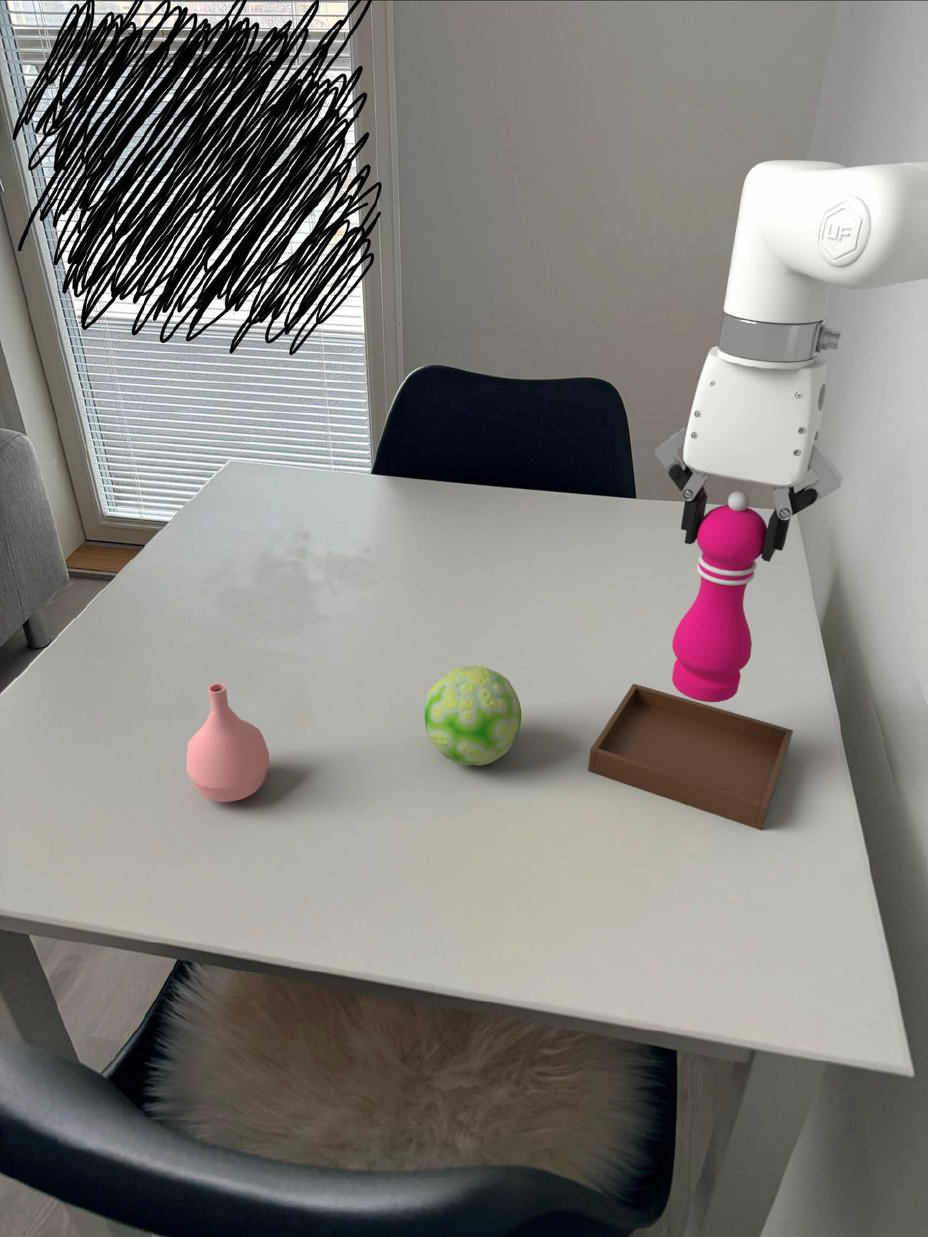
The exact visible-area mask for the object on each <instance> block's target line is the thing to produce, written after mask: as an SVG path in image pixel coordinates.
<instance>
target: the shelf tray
mask: <svg viewBox="0 0 928 1237" xmlns="http://www.w3.org/2000/svg"><path fill="white" fill-rule="evenodd" d="M793 732H794V730H793V729H791V728H787V727H784V726H780V725H777V724H773V723H770V722H767V721H762V720H760V719H758V718H757V719H756V718H753V717H749V716H746V715H742V714H740V713H736V712H732V711H729V710H725V709H722V708H718V707H715V706H711V705H709V704H706V703H701V702H698V701H696V700H695V701H694V700H692V699H688V698H684V697H681V696H677V695H675V694H671V693H667V692H664V691H660V690H657V689H654V688H650V687H647V686H643V685H641V684H636V683H632V684H631V686H630V688H629V689H628V691H627V692H626V694H625V695H624V698H623V699H622V700H621V702H620V703H619V705H618V707H617V708H616V710H615V711H614V713H613V714H612V716H611V717H610V719H609V720H608V722H607V723H606V725H605V726H604V728H603V730H602V731H601V733H600V734H599V736H598V737H597V739H596V740H595V742H594V743H593V745H592V746H591V748H590V750H589V759H588V760H589V761H588V768H587V772H589V773H593V774H595V775H599V776H602V777H604V778H608V779H610V780H613V781H616V782H619V783H622V784H625V785H628V786H631V787H634V788H637V789H639V790H642V791H646V792H649V793H651V794H654V795H657V796H659V797H664V798H666V799H669V800H671V801H675V802H678V803H680V804H684V805H687V806H689V807H692V808H695V809H697V810H702V811H704V812H707V813H710V814H713V815H716V816H719V817H722V818H724V819H727V820H731V821H733V822H736V823H740V824H742V825H745V826H748V827H751V828H754V829H757V830H760V831H761V830H762V829H763V827H764V823H765V820H766V817H767V815H768V811H769V808H770V805H771V802H772V800H773V796H774V793H775V791H776V787H777V784H778V781H779V778H780V776H781V773H782V769H783V767H784V763H785V761H786V757H787V755H788V752H789V747H790V745H791V741H792V736H793V734H794V733H793Z"/></svg>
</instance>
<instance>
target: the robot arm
mask: <svg viewBox="0 0 928 1237" xmlns="http://www.w3.org/2000/svg"><path fill="white" fill-rule="evenodd" d="M728 272H729V273H728V278H727V284H726V292H725V297H724V305H723V311H722V318H721V322H720V323H721V324H720V329H719V336H718V342H717V345H716V346H713V347H710V349H709V351H708V353H707V356H706V359H705V361H704V364H703V367H702V370H701V373H700V375H699V376H700V377H699V380H698V382H697V386H696V390H695V394H694V398H693V402H692V406H691V411H690V413H689V417H688V418H689V419H688V423H687V424H686V425H685V426H683V427H681V429H680V430H678V431H677V432H675V433H674V434H672V435H671V436H669V437H668V438H667V439H665V440H664V441H663V442H661V443H660V444H659V445H658V446H657V447H656V448H655V449H654V452H653V453H654V456H655V457H656V459H657V460H658V461H659V463H660V464H661V465H662V467H663V468H664V469H665V470H666V471H667V472H668V476H669V478H670V479H671V480H672V482H673V483H674V485H675V486H676V487H677V488H678V490H679V491H680V492H681V498H682V500H684V503H683V504H684V505H683V511H682V518H681V526H680V529H681V530H682V531H685V538H684V544H685V545H686V544H687V545H692V544H694V543H695V542H697V531H698V527H699V524H700V522H701V520H702V519H703V517H704V516H705V515H706V514H705V513H706V507H707V502H708V494H707V491H705V490H706V489H705V487H704V486H705V485H706V483H707V482H708V480H709V478H710V477H711V476H715V477H720V478H725V479H730V480H735V481H741V482H742V481H743V482H747V483H753V484H758V485H764V486H770V487H771V493H772V497H773V502H774V506H775V508H774V510H773V512H772V513H771V515H770V517H769V520H768V524H767V533H766V537H765V542H764V547H763V552H762V554H761V556H760V558H761V559H763V560H762V561H764V562H768V563H769V562H771V560H772V558H773V556H774V555H775V552H776V551H781V552H782V551H783V550H784V548H785V544H786V540H787V536H788V531H789V527H790V522H791V518H792V517H793V516H795V515H796V514H798V513H800V512H801V511H803V510H805V509H807V508H809V506H812V505H814V504H815V503H816V501H819V500H820V499H822V498H824V497H826V496H828V495H829V494H831V493H834V492H835V491H837V490H838V489H839V488H840V487H841V485H842V483H843V479H844V477H843V475H842V474H841V473H840V471H839V469H838V468H837V467H836V465H835V464H834V463H833V462H832V460H831V458H830V457H829V456H828V454H827V453H826V452H825V450H824V449H823V448H822V446H821V445H820V443H819V442H818V441H819V434H820V428H821V422H822V416H823V410H824V405H825V404H824V403H825V397H826V384H827V383H826V382H827V360H826V359H825V358H823V357H820V356H818V354H820V353H821V352H822V351H828V349H830V350H831V349H832V350H839V348H840V344H841V341H842V335H843V330H833V328H832V327H828V326H829V324H827V323H826V321H827V317H826V315H827V310H828V307H829V306H828V305H829V300H830V296H831V291H832V288H833V286H835V287H838V288H841V289H847V290H854V291H855V290H870V289H877V288H882V287H889V286H894V285H898V284H904V283H909V282H914V281H920V280H921V281H922V280H928V161H916V162H902V163H901V162H900V163H886V164H885V163H884V164H883V163H882V164H869V165H861V166H853V167H846V166H845V165H842V164H840V163H836V162H831V161H822V160H803V159H798V160H797V159H776V160H775V159H774V160H767V161H762V162H760V163H757V164H756V165H754V166H753V167H752V168H751V169H750V170H749V171H748V173H747V174H746V177H745V179H744V182H743V186H742V192H741V196H740V204H739V209H738V214H737V222H736V228H735V235H734V240H733V247H732V254H731V260H730V266H729V271H728ZM682 447H683V450H682V451H683V452H682V459H683V460H682V459H681V456H680V455H679V454H678V450H680V449H681V448H682ZM810 470H812V471H813V472H814V474H815V476H817V478H818V479H817V480H815V481H814V482H813V483H811V484H808V485H806V486H804V487H803V488H801V489H800V490H798V491H797V490H796V487H797V486H799V485H801V484H802V482H803V481H804V479H805V476H806V473H807V472H809V471H810Z"/></svg>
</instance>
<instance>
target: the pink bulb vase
mask: <svg viewBox="0 0 928 1237" xmlns="http://www.w3.org/2000/svg"><path fill="white" fill-rule="evenodd" d="M207 691H208V696H209V703H210V708H211V710H210V711H209V714H208V715H207V719H206V721H205V723H204V724H203V725H202V727H200V728H199V730H197V731H196V732H195V733H194V734H193V736H192V737H191V739H190V740H189V741H188V742H187V743H188V744H187V750H186V769H185V770H186V773H187V775H188V777H189V779H190V781H191V782H192V784H193V785H194V788H196V790H197V792H198V793H199V794H200V795H201V796H202V797H204V798H205V799H207V800H209V801H214V802H219V803H230V802H235V801H240V800H243V799H245V798H247V797H249V796H251V795H253V794H254V793H255V792H257V791H258V790H259V789H260V788H261V787H262V785H263V783H264V782H265V779H266V777H267V772H268V767H269V764H270V751H269V749H268V746H267V743H266V740H265V738H264V735H263V734H262V732H261V730H260V728H258V727H256V726H255V725H253V724H252V723H250V722H248V721H246V720H243V719H242V718H240V717H239V716H238V715H237V714H236V713H235V711H233V710H232V708H231V707H230V706H229V701H228V692H227V687H226V685H225V684H224V683H222V682H221V683H220V682H217V683H212V684H211V685H209V686H208V689H207Z"/></svg>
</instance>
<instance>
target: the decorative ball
mask: <svg viewBox="0 0 928 1237" xmlns="http://www.w3.org/2000/svg"><path fill="white" fill-rule="evenodd" d="M512 685H513V684H511V682H510V681H509V679H507V678H506V677H505V676H504V675H503V674H501V672H498V671H496V670H493V669H490V668H488V667H486V666H479V665H465V666H460V667H457V668H454V669H452V670H450V671H449V672H447V673H445V675H443V677H441V678H440V679H438V680H437V681H436V682H435V683H434V684H433V686H432V687H431V688H430V689H429V692H428V693H427V695H426V698H425V703H424V723H425V724H424V726H425V728H426V732H427V734H428V738H429V740H430V741H431V743H432V745H433V746H434V747H435V748H436V749H437V750H438V752H440V754H442V756H444V757H445V758H446V759H449V760H451V761H453V762H455V763H456V764H458V765H462V766H484V765H488V764H491V763H494V762H495V761H497V760H498V759H500V758H501V757H502V756H504V755H505V754H506V753H507V752H508V751H509V750H510V748H511V747H512V746H513V744H514V743H515V741H516V739H517V737H518V735H519V732H520V729H521V726H522V725H521V724H522V708H521V702H520V700H519V699H520V698H519V696H518V694H517V692H516V690H515V688H514V686H512Z"/></svg>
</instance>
